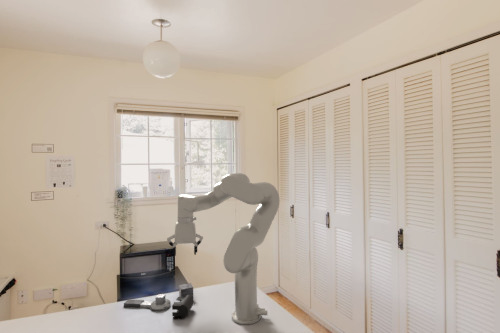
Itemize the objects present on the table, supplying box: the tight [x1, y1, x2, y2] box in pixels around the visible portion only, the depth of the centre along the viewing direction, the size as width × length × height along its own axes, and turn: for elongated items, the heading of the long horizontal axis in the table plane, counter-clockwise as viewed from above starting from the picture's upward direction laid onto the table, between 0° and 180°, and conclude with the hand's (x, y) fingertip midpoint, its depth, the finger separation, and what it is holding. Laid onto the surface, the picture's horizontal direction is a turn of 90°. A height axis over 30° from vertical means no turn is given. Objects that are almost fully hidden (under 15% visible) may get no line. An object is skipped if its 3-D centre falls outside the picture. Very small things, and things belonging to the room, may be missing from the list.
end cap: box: [171, 295, 195, 320], centre depth 133 cm, size 10×7×7 cm
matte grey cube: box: [178, 282, 194, 299], centre depth 150 cm, size 6×6×6 cm
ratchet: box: [123, 293, 172, 312], centre depth 142 cm, size 22×9×5 cm, turn 82°
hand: (185, 254), depth 146 cm, fingers open, 9 cm apart
